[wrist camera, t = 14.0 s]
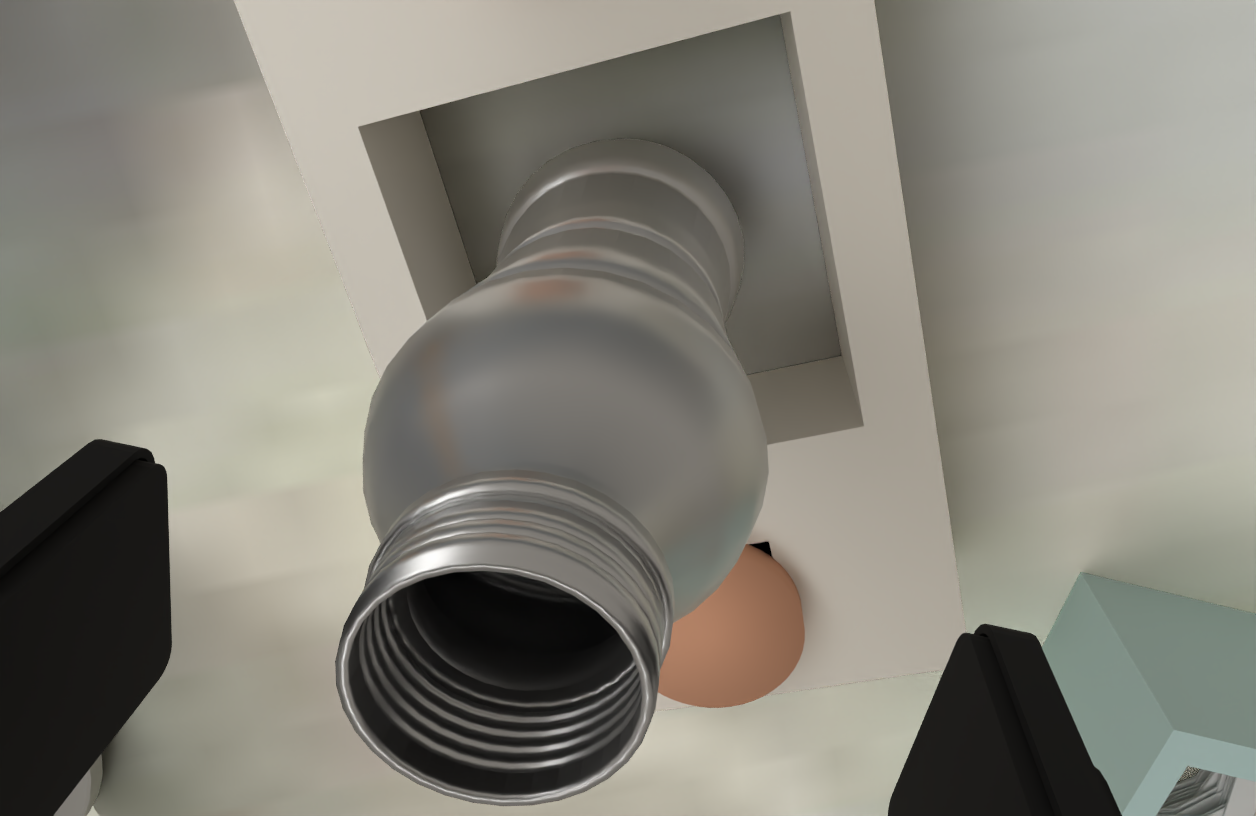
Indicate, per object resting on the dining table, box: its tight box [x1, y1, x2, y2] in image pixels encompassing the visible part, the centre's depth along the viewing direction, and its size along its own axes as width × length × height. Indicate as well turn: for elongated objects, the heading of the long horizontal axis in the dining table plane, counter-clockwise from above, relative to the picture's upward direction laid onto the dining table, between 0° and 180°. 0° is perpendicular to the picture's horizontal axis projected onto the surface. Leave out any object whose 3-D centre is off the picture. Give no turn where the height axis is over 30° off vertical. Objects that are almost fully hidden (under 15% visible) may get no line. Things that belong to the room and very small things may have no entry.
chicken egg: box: [658, 542, 805, 708], centre depth 30 cm, size 5×5×6 cm
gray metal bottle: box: [335, 138, 769, 806], centre depth 20 cm, size 6×7×20 cm
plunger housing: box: [234, 0, 966, 712], centre depth 27 cm, size 27×14×5 cm, turn 14°
